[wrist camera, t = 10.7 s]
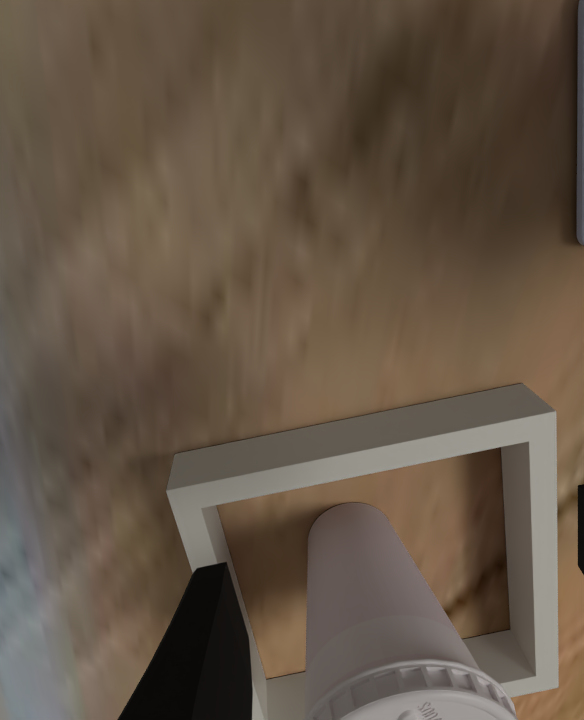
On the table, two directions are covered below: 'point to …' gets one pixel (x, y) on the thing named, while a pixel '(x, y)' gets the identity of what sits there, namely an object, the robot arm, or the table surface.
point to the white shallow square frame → (385, 452)
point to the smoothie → (383, 632)
